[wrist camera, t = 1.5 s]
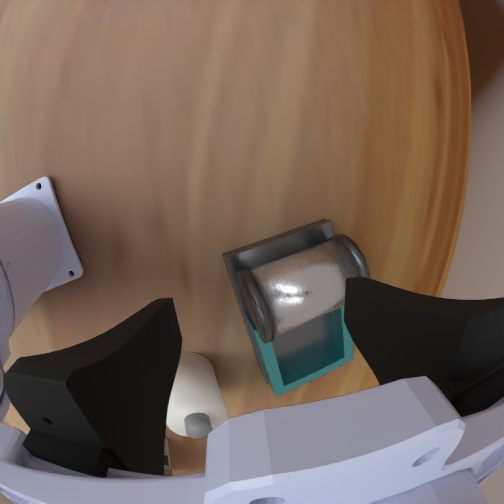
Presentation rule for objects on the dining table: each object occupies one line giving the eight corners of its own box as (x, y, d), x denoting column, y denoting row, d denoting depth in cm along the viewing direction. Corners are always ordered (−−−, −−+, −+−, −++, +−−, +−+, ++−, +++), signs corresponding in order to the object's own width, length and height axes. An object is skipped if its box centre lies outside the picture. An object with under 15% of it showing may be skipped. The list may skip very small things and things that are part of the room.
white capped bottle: (174, 394, 24) (183, 453, 17) (153, 361, 22) (155, 423, 16) (219, 380, 25) (238, 437, 18) (202, 345, 23) (219, 404, 17)
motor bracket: (263, 377, 26) (286, 421, 21) (222, 254, 21) (243, 287, 16) (344, 340, 28) (378, 373, 22) (330, 216, 23) (378, 234, 17)
